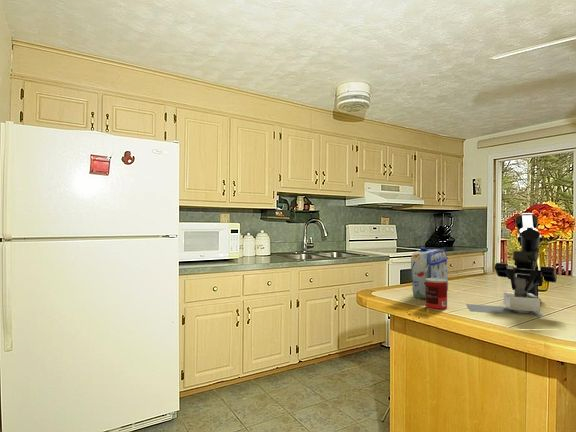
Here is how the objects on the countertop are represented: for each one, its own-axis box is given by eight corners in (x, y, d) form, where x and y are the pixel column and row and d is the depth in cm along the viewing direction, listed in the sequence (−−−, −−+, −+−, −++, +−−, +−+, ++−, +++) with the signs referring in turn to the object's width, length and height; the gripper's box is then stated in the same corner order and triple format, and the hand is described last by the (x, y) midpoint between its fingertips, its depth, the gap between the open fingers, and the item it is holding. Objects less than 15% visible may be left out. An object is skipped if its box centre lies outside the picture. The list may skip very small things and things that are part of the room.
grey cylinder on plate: (503, 303, 131) (503, 276, 131) (531, 305, 128) (531, 277, 128) (510, 309, 123) (509, 279, 123) (540, 311, 120) (539, 281, 120)
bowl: (523, 309, 128) (522, 302, 128) (532, 313, 123) (532, 305, 123) (510, 309, 128) (510, 302, 128) (519, 313, 123) (519, 305, 123)
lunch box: (434, 303, 139) (433, 249, 139) (408, 300, 145) (407, 248, 146) (450, 293, 161) (450, 245, 161) (427, 290, 167) (427, 244, 167)
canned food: (446, 306, 134) (445, 278, 135) (448, 311, 127) (448, 281, 127) (425, 305, 137) (424, 277, 137) (426, 309, 129) (425, 280, 130)
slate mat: (470, 312, 126) (470, 311, 126) (465, 304, 137) (465, 303, 137) (545, 318, 118) (545, 317, 118) (534, 309, 129) (534, 308, 129)
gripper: (495, 242, 135) (485, 273, 128) (554, 244, 121) (546, 279, 114) (502, 260, 141) (493, 291, 133) (560, 264, 127) (553, 299, 119)
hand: (519, 290), depth 125 cm, fingers closed on grey cylinder on plate, 4 cm apart
